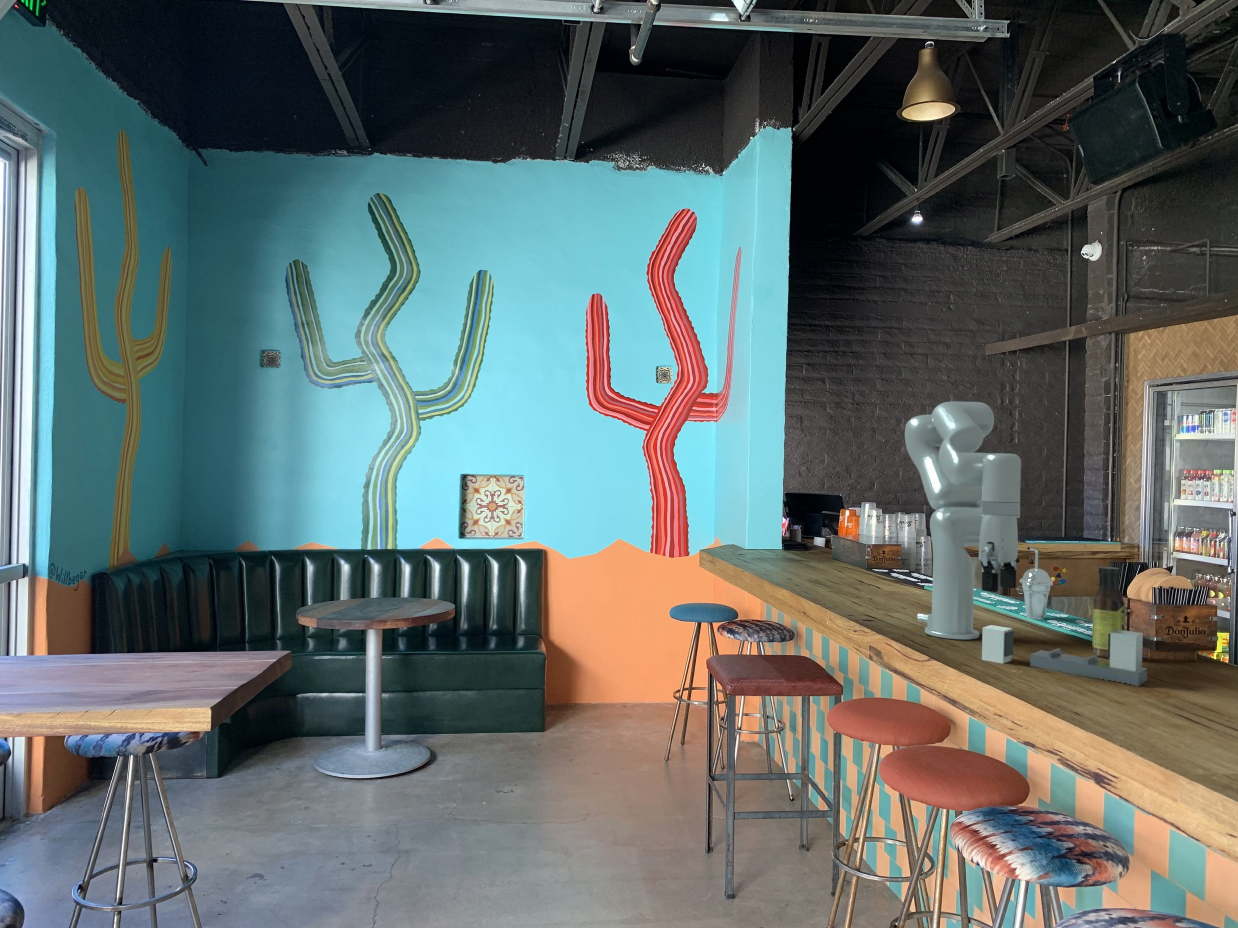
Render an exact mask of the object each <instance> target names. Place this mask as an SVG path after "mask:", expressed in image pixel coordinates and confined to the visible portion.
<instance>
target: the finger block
mask: <svg viewBox="0 0 1238 928" xmlns="http://www.w3.org/2000/svg"><path fill="white" fill-rule="evenodd" d="M1014 633H1015V632H1014V631H1013V628H1012V627H1005V626H1000V625H994V624H993V625H992V624H990V625H987V626H984V627H982V636H981V638H982V639H981V641H982V642H981V661H982V660H983V661H987V662H991V663H998V664H1001V665H1002V664H1005V663H1006V664H1007V663H1008V662H1011V661H1012V655H1014V635H1015V634H1014Z"/></svg>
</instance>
